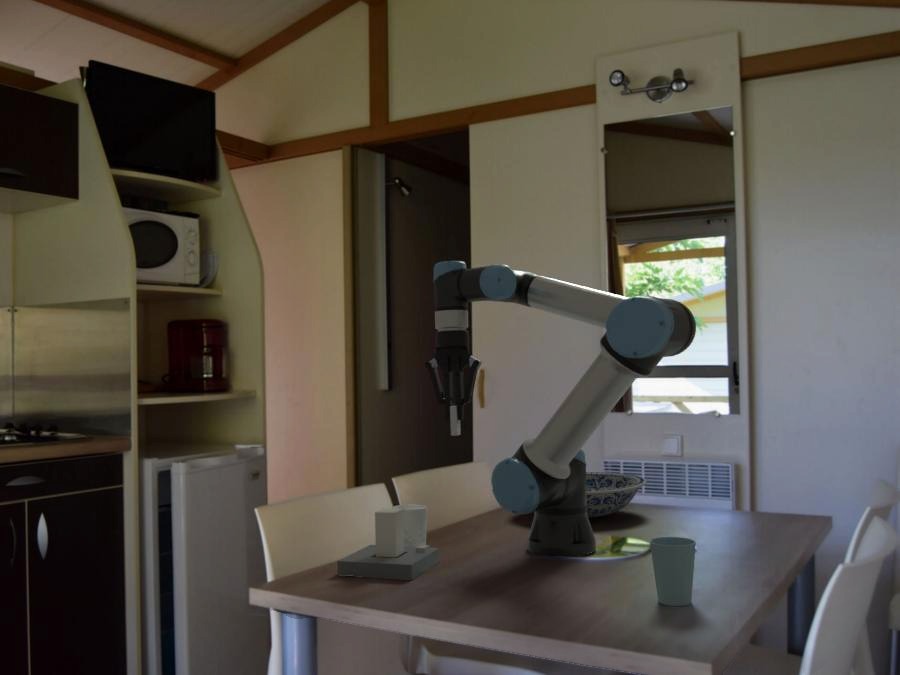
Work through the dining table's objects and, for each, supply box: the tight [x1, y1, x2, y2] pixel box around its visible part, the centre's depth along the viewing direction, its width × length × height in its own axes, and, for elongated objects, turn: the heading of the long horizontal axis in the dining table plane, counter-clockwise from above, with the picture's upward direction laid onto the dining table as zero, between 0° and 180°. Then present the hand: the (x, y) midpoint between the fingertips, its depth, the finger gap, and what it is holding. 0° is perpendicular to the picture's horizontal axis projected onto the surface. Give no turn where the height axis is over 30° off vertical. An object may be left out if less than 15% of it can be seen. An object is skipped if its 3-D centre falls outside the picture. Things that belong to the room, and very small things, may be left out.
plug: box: [374, 508, 404, 558], centre depth 178 cm, size 4×4×12 cm
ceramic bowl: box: [586, 471, 647, 518], centre depth 234 cm, size 34×34×10 cm
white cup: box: [391, 503, 428, 547], centre depth 194 cm, size 8×8×10 cm
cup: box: [649, 536, 697, 607], centre depth 148 cm, size 8×8×10 cm
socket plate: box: [336, 544, 440, 581], centre depth 178 cm, size 16×16×4 cm
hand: (455, 434), depth 193 cm, fingers closed
